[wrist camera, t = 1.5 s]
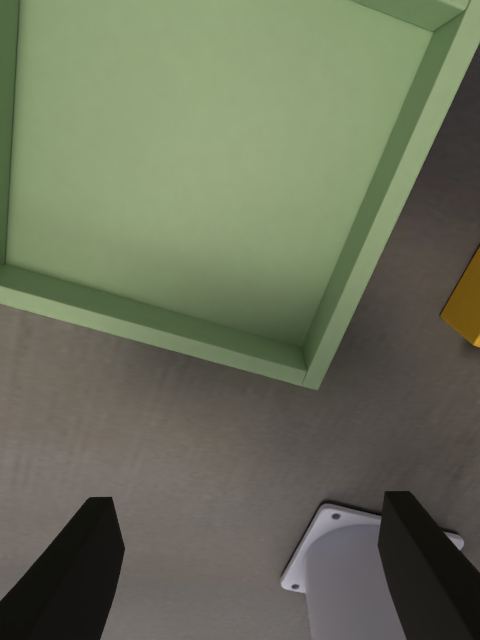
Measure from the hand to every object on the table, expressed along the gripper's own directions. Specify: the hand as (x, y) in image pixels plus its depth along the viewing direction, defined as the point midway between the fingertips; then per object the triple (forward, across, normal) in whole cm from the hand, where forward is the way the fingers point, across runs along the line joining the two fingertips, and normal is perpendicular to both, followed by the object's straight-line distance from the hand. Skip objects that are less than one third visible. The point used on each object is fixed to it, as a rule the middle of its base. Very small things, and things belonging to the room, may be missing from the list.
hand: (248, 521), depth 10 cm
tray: (+10, +2, -9) cm, 13 cm away
